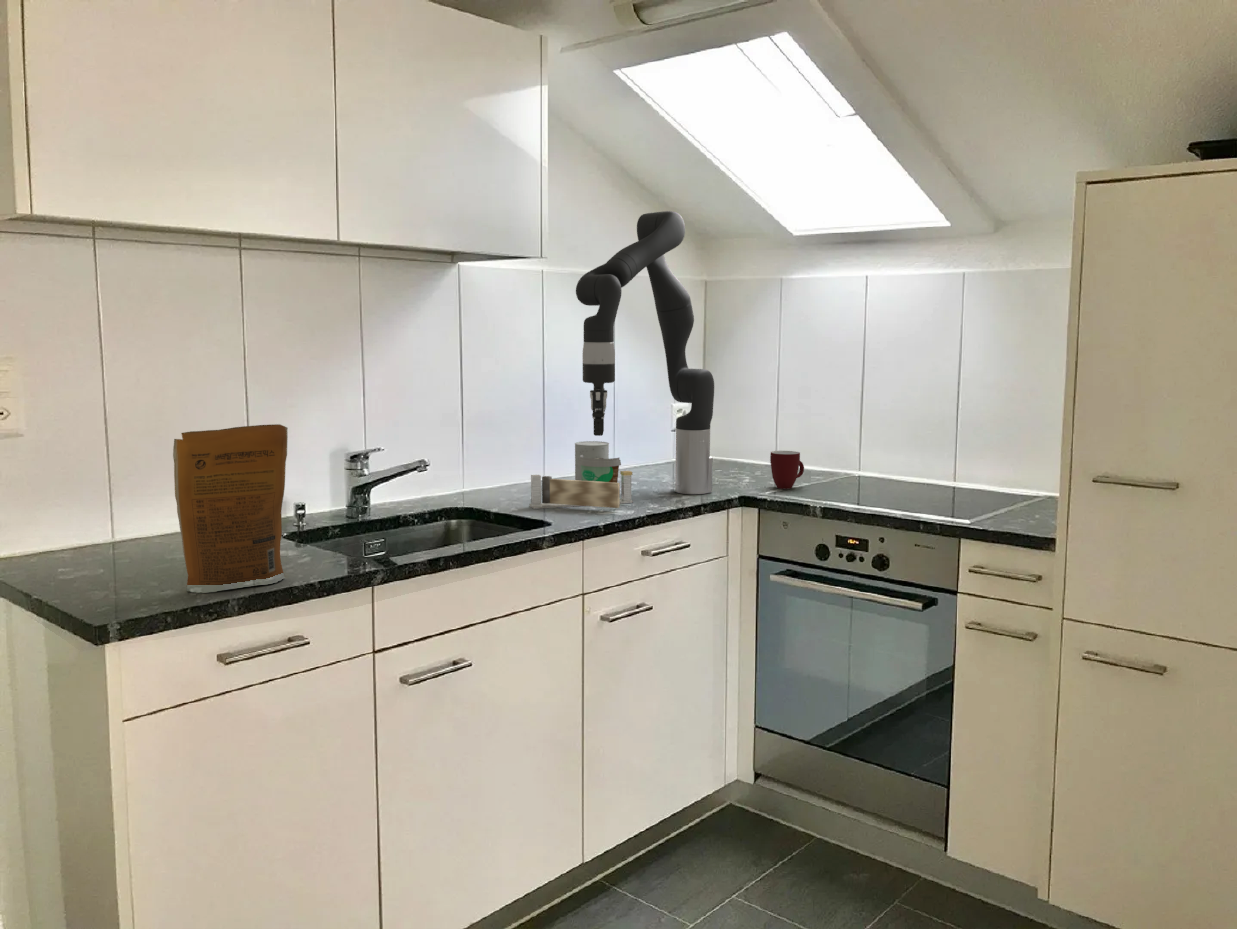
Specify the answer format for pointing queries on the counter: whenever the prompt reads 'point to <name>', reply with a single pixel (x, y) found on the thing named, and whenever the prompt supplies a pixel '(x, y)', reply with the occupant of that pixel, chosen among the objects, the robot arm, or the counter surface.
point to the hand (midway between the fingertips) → (598, 433)
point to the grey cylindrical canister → (589, 453)
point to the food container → (599, 469)
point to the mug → (785, 468)
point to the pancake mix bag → (231, 502)
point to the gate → (580, 492)
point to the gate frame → (537, 505)
